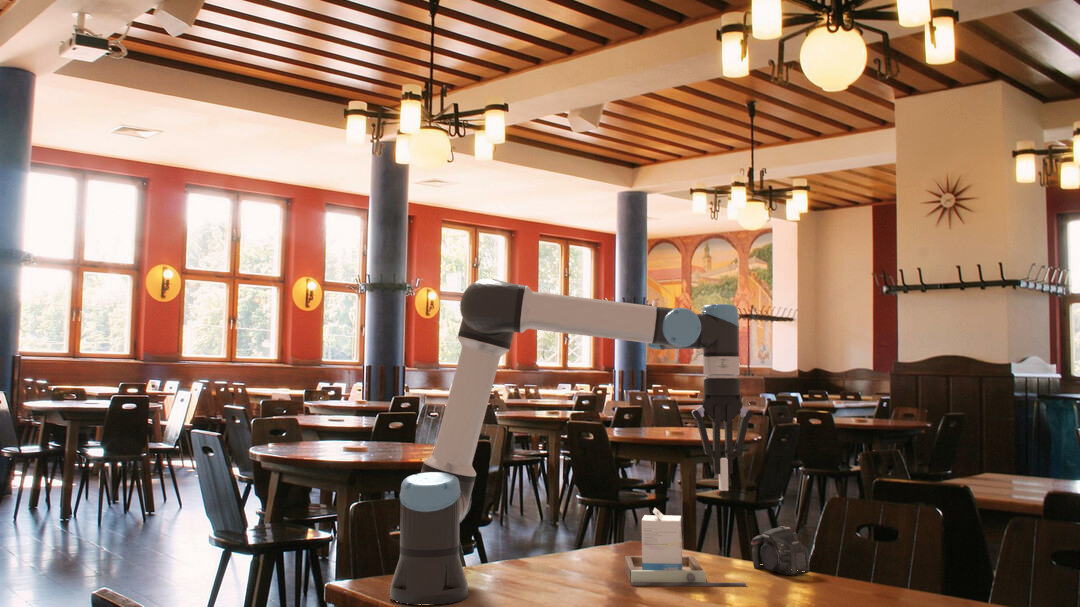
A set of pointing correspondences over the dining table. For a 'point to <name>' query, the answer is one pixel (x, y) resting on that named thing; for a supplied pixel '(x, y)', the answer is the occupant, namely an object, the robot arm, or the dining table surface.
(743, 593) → the dining table surface
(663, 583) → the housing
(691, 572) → the cream rectangular bar
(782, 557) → the camera
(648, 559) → the ink box
